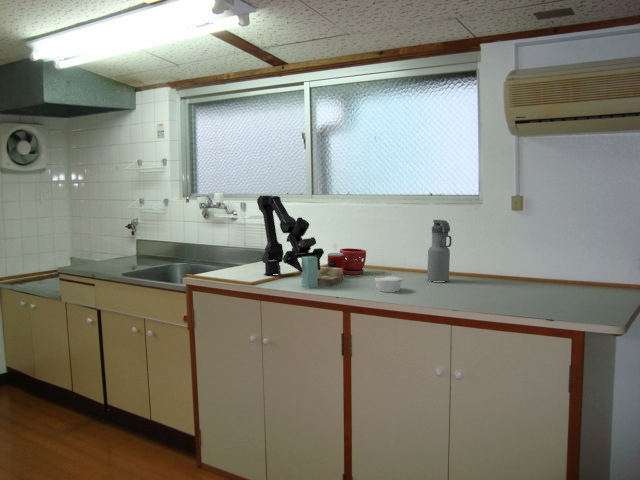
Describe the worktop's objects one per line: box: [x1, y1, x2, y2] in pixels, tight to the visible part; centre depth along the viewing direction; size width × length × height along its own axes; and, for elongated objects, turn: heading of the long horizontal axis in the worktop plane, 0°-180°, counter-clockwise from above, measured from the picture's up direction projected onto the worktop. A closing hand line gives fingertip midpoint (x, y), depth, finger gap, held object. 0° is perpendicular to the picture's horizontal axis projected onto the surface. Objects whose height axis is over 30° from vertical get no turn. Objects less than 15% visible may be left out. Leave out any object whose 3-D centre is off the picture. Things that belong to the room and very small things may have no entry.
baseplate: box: [317, 274, 345, 286], centre depth 244 cm, size 14×14×3 cm
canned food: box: [327, 252, 344, 275], centre depth 257 cm, size 8×8×11 cm
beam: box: [317, 266, 342, 276], centre depth 249 cm, size 12×4×3 cm, turn 68°
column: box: [301, 256, 318, 289], centre depth 233 cm, size 5×5×13 cm
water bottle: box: [426, 219, 452, 282], centre depth 245 cm, size 10×10×28 cm
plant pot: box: [339, 247, 367, 276], centre depth 265 cm, size 13×13×12 cm
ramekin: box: [374, 275, 402, 293], centre depth 225 cm, size 11×11×5 cm
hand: (310, 270), depth 232 cm, fingers open, 9 cm apart
